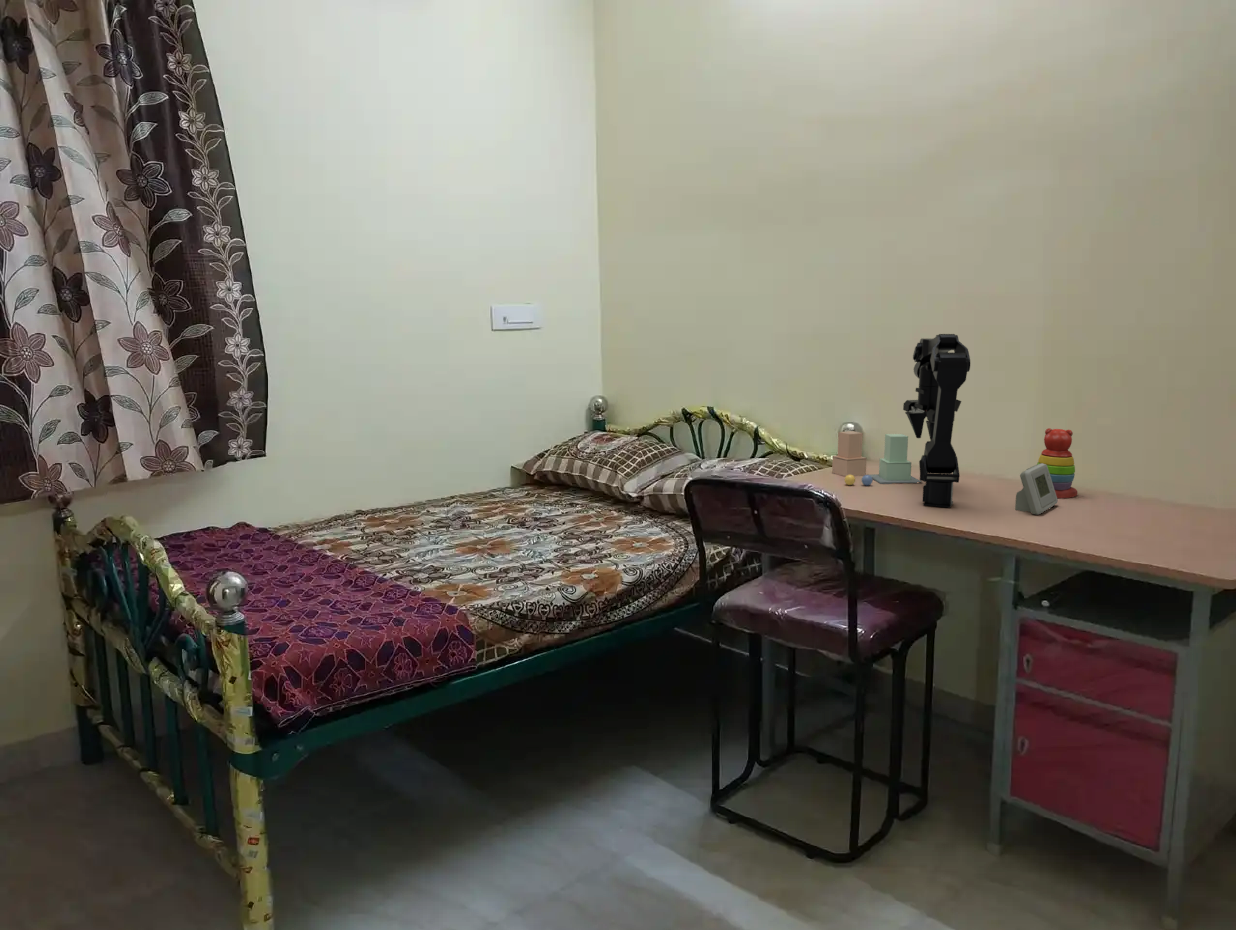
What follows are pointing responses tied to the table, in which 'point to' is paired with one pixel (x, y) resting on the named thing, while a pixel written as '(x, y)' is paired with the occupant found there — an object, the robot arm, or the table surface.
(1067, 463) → the stacking bear
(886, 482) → the mat
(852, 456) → the pink stepped block
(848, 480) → the marble amber
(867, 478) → the blue ball
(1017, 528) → the table surface
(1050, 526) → the table surface
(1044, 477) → the digital clock
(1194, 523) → the table surface
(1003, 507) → the table surface
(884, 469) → the stepped green tower
